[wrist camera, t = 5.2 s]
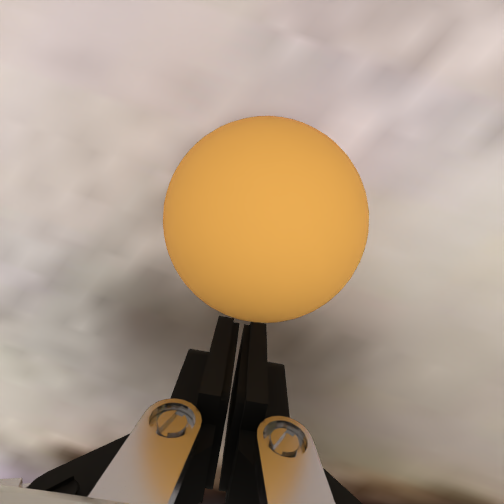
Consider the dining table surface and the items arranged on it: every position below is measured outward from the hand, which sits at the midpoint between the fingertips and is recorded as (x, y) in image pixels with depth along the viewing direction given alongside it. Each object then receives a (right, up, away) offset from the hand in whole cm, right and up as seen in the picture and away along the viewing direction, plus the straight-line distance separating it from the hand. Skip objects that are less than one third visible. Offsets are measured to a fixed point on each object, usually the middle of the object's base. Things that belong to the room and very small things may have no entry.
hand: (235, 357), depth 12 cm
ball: (+1, +4, -2) cm, 5 cm away
